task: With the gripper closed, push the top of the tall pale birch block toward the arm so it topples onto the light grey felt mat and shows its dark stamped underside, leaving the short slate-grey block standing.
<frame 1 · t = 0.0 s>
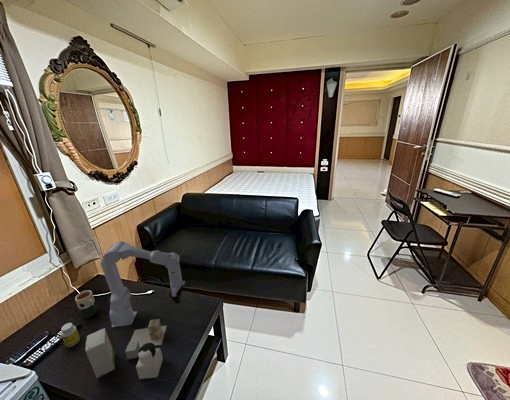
hand: (179, 297, 111), 10 cm above the table, fingers open, 7 cm apart
slate block: (134, 354, 93), on the table
supplement bottle: (73, 342, 99), on the table
felt mat: (147, 337, 101), on the table
skincare box: (105, 365, 89), on the table
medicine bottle: (151, 369, 88), on the table
character mug: (90, 314, 114), on the table
birch block: (156, 335, 101), resting on felt mat
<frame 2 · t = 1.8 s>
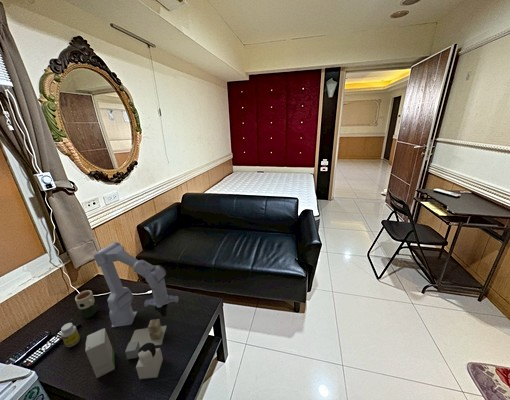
hand: (164, 314, 100), 11 cm above the table, fingers closed
nothing on the table moved.
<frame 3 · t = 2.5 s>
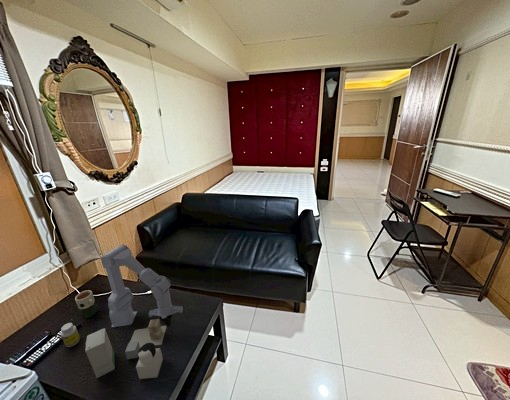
hand: (168, 324, 100), 6 cm above the table, fingers closed
nothing on the table moved.
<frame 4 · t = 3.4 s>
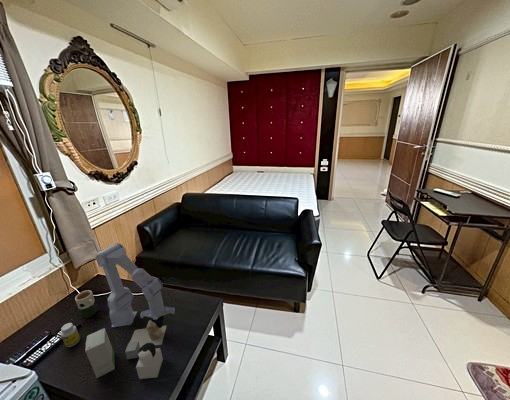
hand: (160, 326, 100), 6 cm above the table, fingers closed
birch block: (156, 335, 101), resting on felt mat, touching gripper
everything else where it was.
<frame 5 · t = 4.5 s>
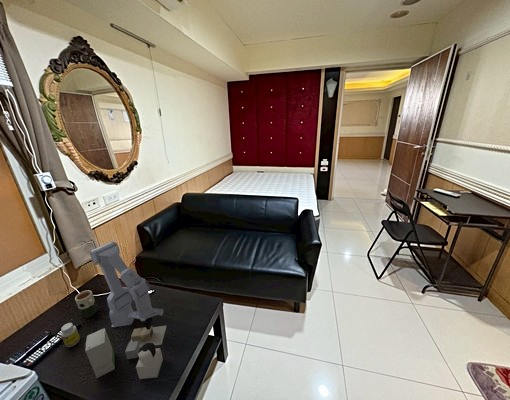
hand: (149, 327, 99), 6 cm above the table, fingers closed
birch block: (151, 333, 100), point 2 cm above the table, tilted 90°, touching felt mat
everything else where it was.
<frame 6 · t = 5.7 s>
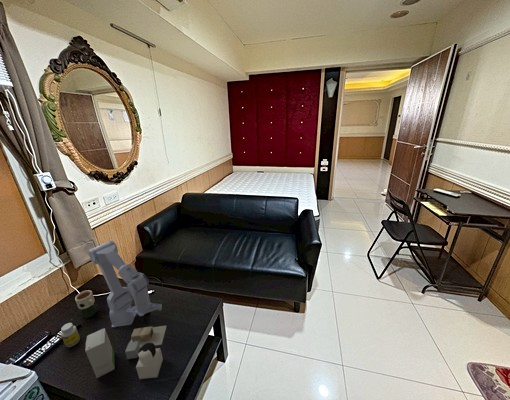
hand: (147, 322, 98), 9 cm above the table, fingers closed
nothing on the table moved.
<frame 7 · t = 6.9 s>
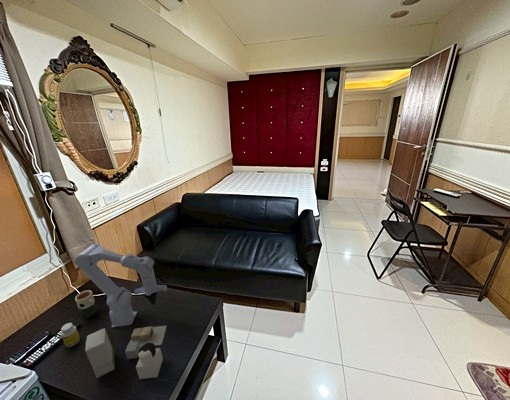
hand: (153, 302, 107), 10 cm above the table, fingers closed
nothing on the table moved.
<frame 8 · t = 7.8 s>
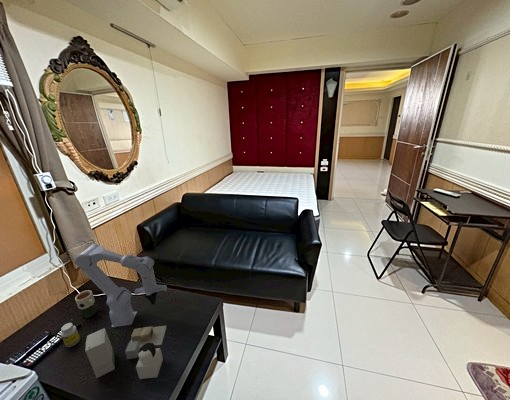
hand: (153, 302, 107), 10 cm above the table, fingers closed
nothing on the table moved.
at the end: birch block tilted 90°; birch block inside the target area (3.0 cm from its centre), point 2.3 cm above the table; slate block moved 0.1 cm from its start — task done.
